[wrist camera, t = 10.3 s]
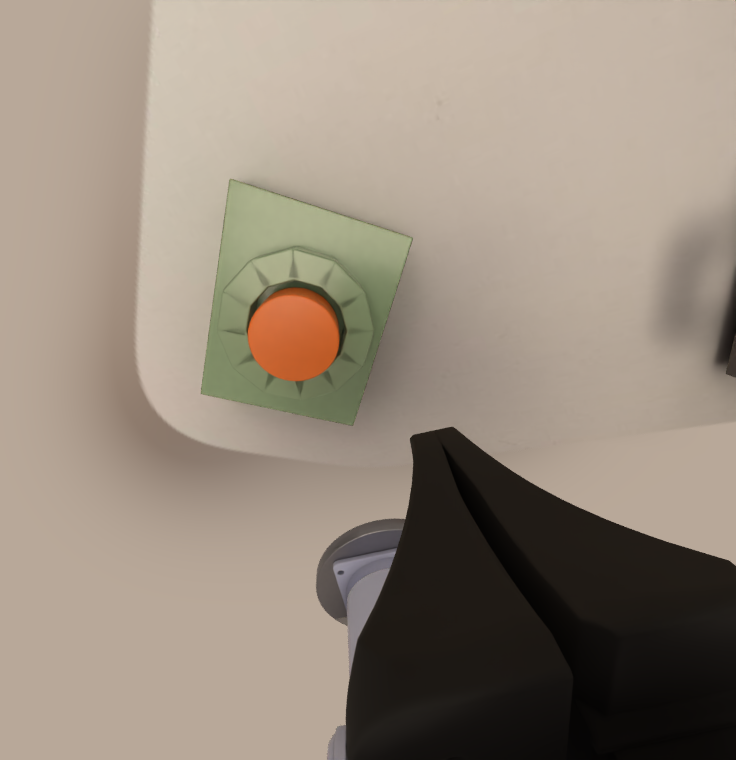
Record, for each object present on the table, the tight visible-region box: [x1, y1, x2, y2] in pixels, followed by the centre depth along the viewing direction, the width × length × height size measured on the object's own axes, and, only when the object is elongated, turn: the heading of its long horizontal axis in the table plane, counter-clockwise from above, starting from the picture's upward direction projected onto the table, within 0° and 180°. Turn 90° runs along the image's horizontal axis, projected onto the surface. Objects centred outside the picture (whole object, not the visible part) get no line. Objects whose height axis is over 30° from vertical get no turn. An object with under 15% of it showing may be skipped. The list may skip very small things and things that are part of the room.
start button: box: [248, 287, 340, 381], centre depth 15 cm, size 4×4×2 cm
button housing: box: [201, 179, 413, 426], centre depth 18 cm, size 10×8×4 cm
